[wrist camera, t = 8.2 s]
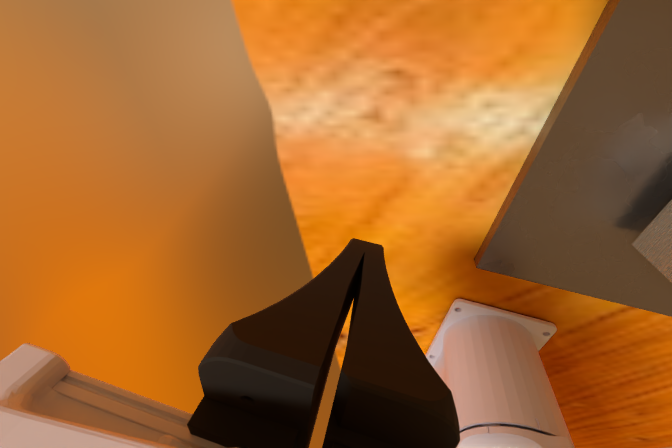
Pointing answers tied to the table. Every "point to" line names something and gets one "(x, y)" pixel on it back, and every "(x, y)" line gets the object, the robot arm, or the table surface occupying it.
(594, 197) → the bearing bracket
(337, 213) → the table surface
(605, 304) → the table surface
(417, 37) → the table surface
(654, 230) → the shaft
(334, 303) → the robot arm
